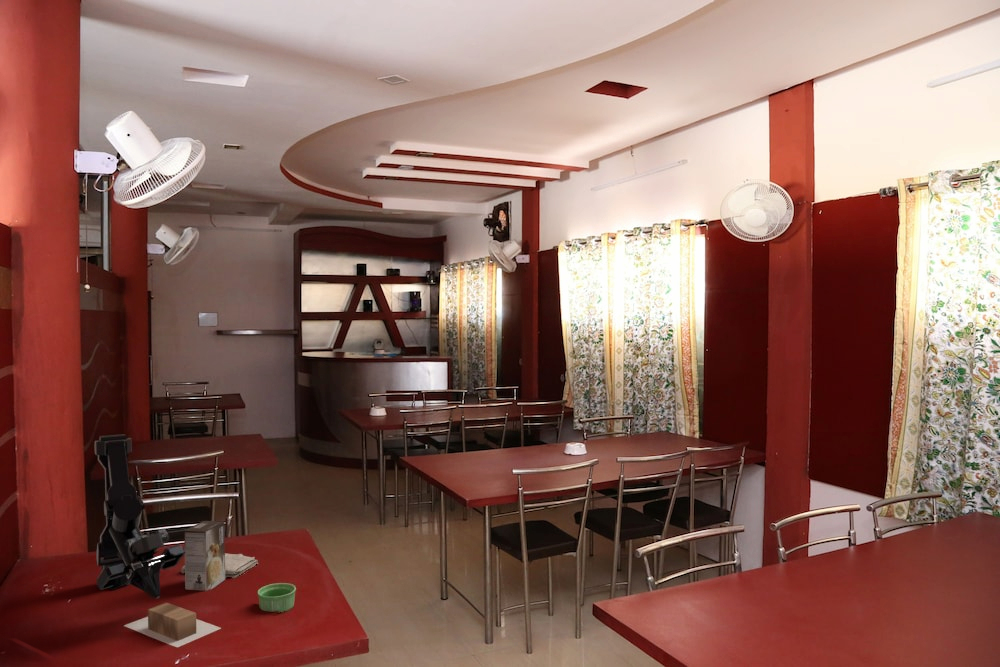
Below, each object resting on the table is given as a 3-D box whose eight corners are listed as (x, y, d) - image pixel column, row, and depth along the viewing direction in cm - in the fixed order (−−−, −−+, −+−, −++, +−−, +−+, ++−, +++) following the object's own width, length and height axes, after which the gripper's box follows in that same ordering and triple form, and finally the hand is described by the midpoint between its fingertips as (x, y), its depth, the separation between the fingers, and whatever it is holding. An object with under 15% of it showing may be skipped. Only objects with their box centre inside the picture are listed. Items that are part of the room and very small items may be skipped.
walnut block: (147, 609, 159) (177, 620, 153) (166, 602, 163) (196, 613, 157) (148, 629, 159) (177, 640, 153) (166, 621, 163) (196, 633, 157)
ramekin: (303, 603, 175) (303, 586, 175) (278, 617, 167) (278, 599, 167) (275, 597, 179) (275, 580, 179) (249, 611, 171) (249, 593, 170)
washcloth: (237, 580, 191) (237, 569, 191) (178, 575, 195) (178, 564, 195) (260, 565, 203) (260, 554, 203) (204, 561, 207) (204, 550, 206)
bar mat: (123, 628, 161) (123, 625, 161) (168, 611, 170) (168, 608, 170) (177, 650, 150) (177, 647, 150) (221, 630, 160) (221, 628, 160)
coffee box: (204, 578, 191) (203, 519, 191) (226, 580, 190) (225, 521, 190) (184, 591, 182) (183, 530, 182) (207, 593, 181) (206, 531, 181)
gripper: (103, 530, 155) (132, 590, 149) (180, 511, 171) (209, 564, 165) (84, 560, 159) (112, 619, 154) (161, 538, 175) (189, 591, 170)
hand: (158, 597), depth 160 cm, fingers closed
